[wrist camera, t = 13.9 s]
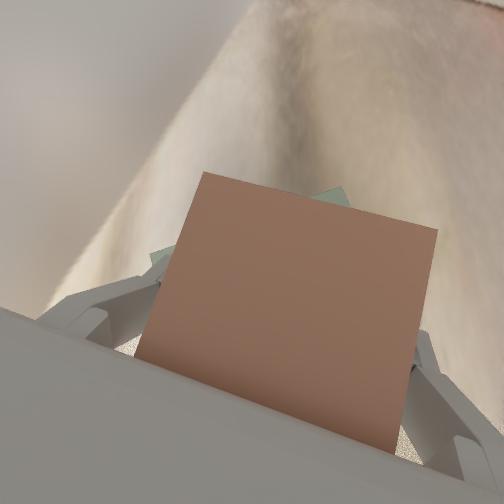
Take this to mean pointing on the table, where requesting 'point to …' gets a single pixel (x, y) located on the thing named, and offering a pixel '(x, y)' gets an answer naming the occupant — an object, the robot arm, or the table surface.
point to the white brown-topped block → (294, 306)
